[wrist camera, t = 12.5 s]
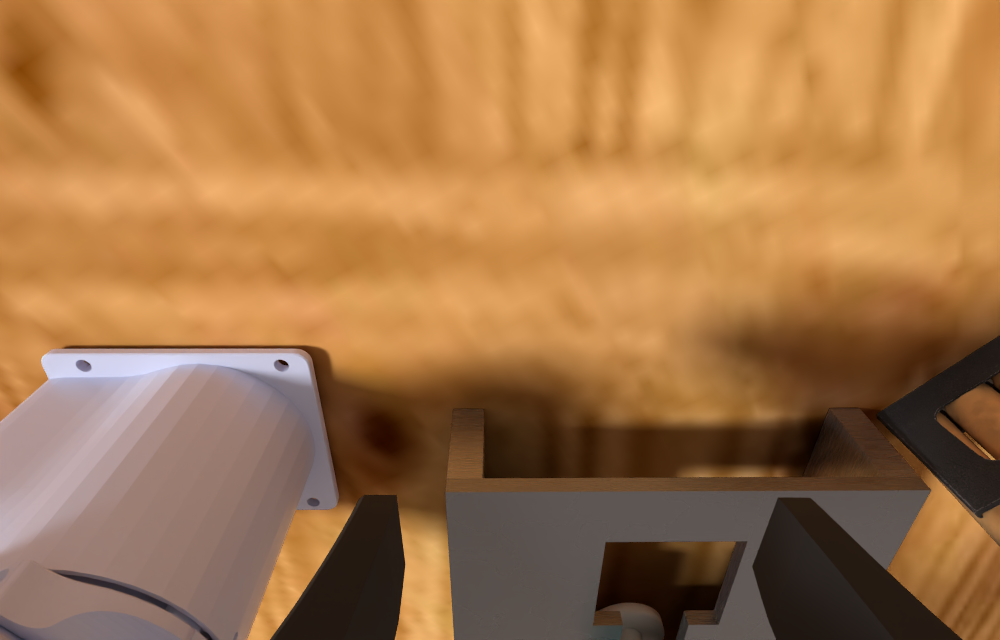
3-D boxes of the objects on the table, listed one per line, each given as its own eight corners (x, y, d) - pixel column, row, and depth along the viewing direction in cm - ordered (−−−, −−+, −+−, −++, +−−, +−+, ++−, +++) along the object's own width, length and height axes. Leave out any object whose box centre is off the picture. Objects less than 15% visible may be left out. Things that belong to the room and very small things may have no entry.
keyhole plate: (466, 700, 33) (463, 788, 30) (452, 409, 22) (445, 492, 18) (736, 698, 33) (766, 784, 30) (859, 408, 22) (931, 490, 19)
